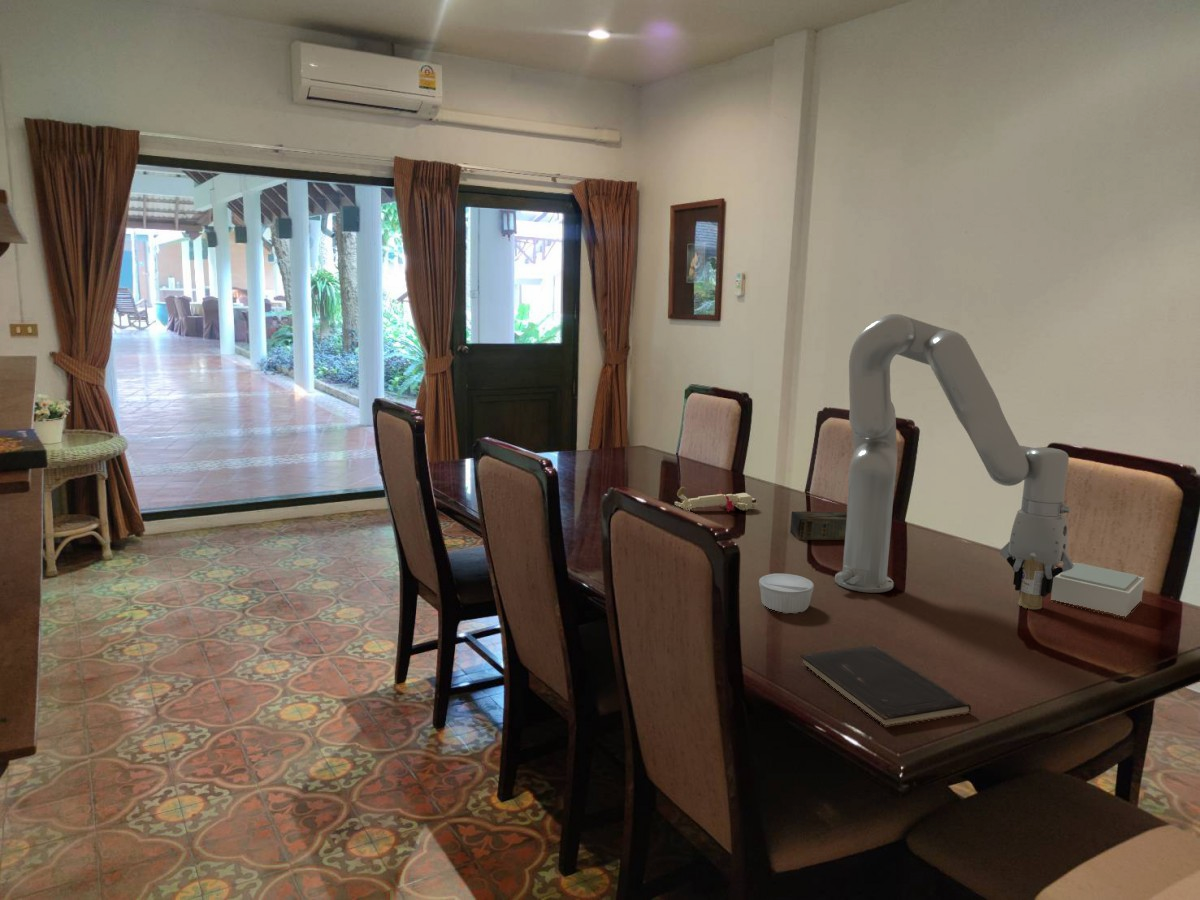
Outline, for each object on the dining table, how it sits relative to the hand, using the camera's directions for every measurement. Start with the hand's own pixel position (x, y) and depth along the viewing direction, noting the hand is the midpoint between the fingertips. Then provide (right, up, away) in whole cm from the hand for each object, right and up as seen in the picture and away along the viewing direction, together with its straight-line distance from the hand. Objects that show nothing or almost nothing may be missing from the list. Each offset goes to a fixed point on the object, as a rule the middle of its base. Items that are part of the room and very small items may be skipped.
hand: (1031, 591), depth 174 cm
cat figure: (-56, +11, +76) cm, 95 cm away
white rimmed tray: (+16, -3, +4) cm, 17 cm away
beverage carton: (-29, +6, +51) cm, 59 cm away
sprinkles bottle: (0, -3, +1) cm, 4 cm away
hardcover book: (-45, -10, -38) cm, 59 cm away
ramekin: (-52, -3, -2) cm, 52 cm away
